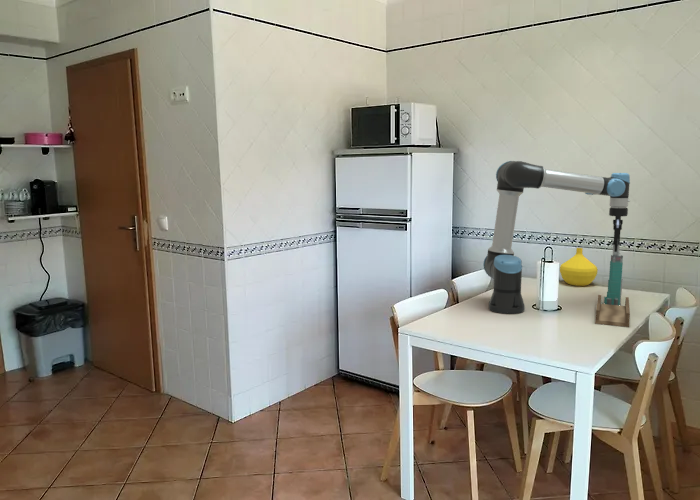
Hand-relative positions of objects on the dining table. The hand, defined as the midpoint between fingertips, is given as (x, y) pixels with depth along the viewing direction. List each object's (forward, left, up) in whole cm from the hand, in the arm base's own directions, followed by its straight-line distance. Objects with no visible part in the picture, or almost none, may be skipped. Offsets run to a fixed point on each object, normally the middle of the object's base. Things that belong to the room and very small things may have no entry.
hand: (615, 258), depth 252 cm
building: (0, -10, -20) cm, 22 cm away
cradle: (0, -30, -20) cm, 36 cm away
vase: (-17, +30, -20) cm, 40 cm away
